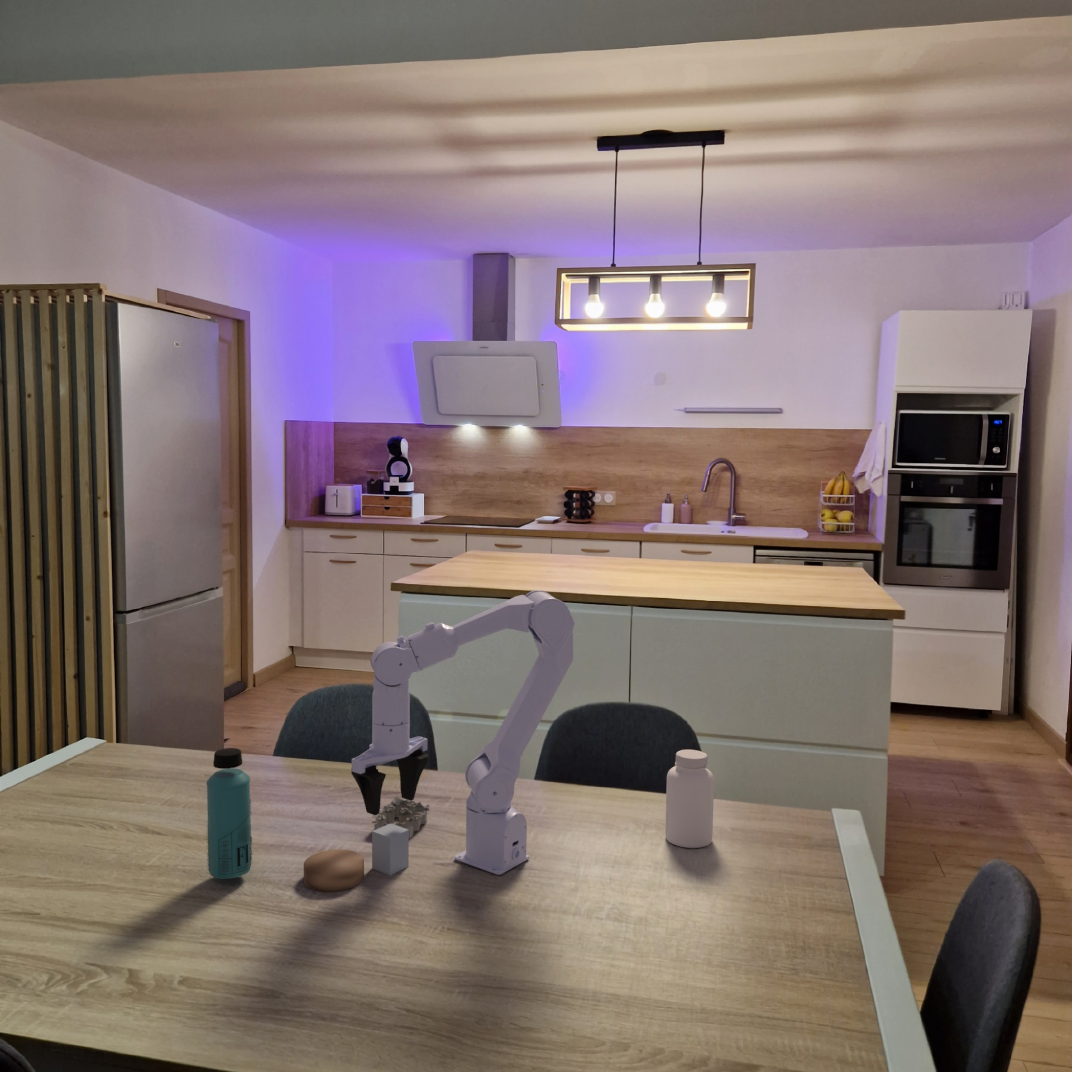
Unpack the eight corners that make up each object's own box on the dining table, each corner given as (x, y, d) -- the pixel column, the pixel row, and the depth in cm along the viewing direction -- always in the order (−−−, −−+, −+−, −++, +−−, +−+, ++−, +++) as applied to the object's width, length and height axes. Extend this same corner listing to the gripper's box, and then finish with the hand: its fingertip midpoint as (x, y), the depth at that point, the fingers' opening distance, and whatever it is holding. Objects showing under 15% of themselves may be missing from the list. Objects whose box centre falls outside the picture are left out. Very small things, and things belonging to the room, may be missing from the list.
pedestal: (376, 875, 143) (376, 860, 143) (331, 897, 136) (331, 881, 135) (336, 859, 148) (336, 844, 148) (291, 880, 141) (291, 864, 141)
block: (408, 866, 146) (408, 829, 146) (390, 875, 143) (390, 837, 143) (390, 859, 149) (390, 823, 148) (372, 868, 146) (372, 831, 145)
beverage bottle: (238, 891, 137) (237, 759, 135) (198, 886, 138) (196, 755, 137) (260, 872, 143) (259, 745, 142) (221, 867, 145) (219, 742, 143)
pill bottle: (709, 831, 162) (713, 747, 161) (714, 851, 154) (717, 763, 153) (664, 828, 163) (666, 745, 161) (665, 848, 155) (668, 760, 154)
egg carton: (406, 844, 155) (406, 821, 155) (366, 837, 158) (366, 814, 157) (433, 820, 165) (434, 798, 165) (395, 814, 168) (395, 792, 167)
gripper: (405, 706, 152) (404, 787, 153) (337, 726, 140) (337, 813, 142) (437, 714, 148) (436, 797, 149) (370, 735, 136) (370, 825, 137)
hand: (390, 805), depth 145 cm, fingers open, 7 cm apart
